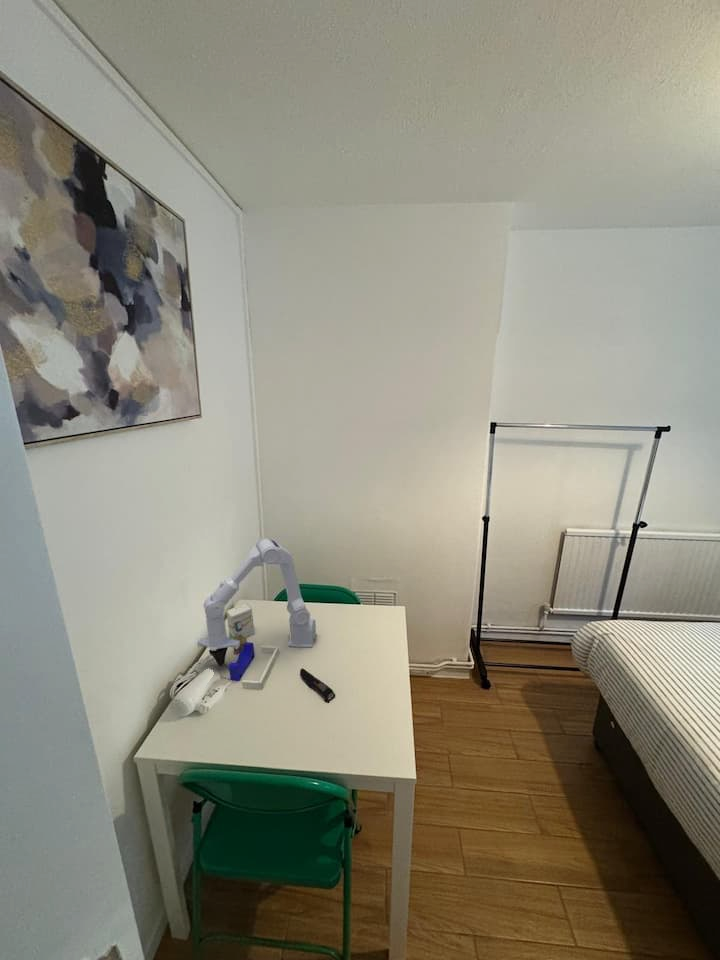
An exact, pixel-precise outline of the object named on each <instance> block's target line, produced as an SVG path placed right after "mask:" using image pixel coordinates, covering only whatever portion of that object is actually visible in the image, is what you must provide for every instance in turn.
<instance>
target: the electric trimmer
mask: <svg viewBox="0 0 720 960" xmlns="http://www.w3.org/2000/svg"><path fill="white" fill-rule="evenodd" d="M299 670H300V671H299V675H300V678H301V679H302V680H303V681H304V683H305V684H306V685H307V686H308V687H309V688H312V689H314V690H315V691H316V692H318V693H319V694H320V695H321V696H322V697H323V699H324V702H325V703H330V702H332V701H333V700H334V699H335V698H336V693H335V692H334V691H333V689H332V688H331V687H330V686H328V685H327V684H326V683H324V682H323V681H321V680H320V679H319V678H317V677H315V676H314V675H313V674H312V673H310V672H309V671H307V670H306V669H305V668H303V667H302V668H301V669H299Z"/></svg>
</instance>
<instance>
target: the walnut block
mask: <svg viewBox="0 0 720 960" xmlns="http://www.w3.org/2000/svg"><path fill="white" fill-rule="evenodd" d="M235 640H238V641H240V646H239V648H238V649H235V648H234V647H233V653H234V655H237V654H238V655H239V653H240V652H241V650H242V649H244V643H245V642H248V639H247V637H238V638H235Z"/></svg>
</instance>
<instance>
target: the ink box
mask: <svg viewBox="0 0 720 960" xmlns="http://www.w3.org/2000/svg"><path fill="white" fill-rule="evenodd" d="M226 617H227V619H226V620H227V626H228V627H227V628H228V634H229V635H228V636H229V638H231V639H234V640H235V638H238V637H246V638H248V637H250V636H252V635H254V634H255V632H256V631H255V626H254V617H253V608H252V607H251V605H250V604H249V603H243V604H242V605H238V606H236V607H233V608H230V609H228V610H226Z"/></svg>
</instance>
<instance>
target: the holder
mask: <svg viewBox="0 0 720 960" xmlns="http://www.w3.org/2000/svg"><path fill="white" fill-rule="evenodd" d="M260 649H261V653H262V654H272V655H271V657H270V658H269V660H268V663H267V665H266V666H265V669H264V671H263V674H262V675H261V677H260V679H259V680H250V679H249V680H246V679H243V680H242V681H241V685H242V687H241V688H242V689H249V690H250V689H251V690H262V689H263V687H264V685H265V683H266V680H267V679H268V677H269V674H270V673H271V671H272V669H273V667H274V664H275V663H276V660H277V658H278V656H279V654H280V646H274V645H261V647H260Z"/></svg>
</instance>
